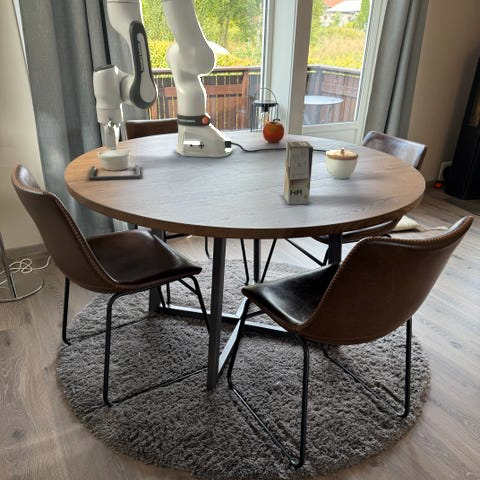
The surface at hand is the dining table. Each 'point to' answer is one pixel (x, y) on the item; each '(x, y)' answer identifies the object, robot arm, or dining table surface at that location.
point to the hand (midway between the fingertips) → (114, 156)
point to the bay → (92, 178)
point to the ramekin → (114, 159)
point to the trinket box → (341, 163)
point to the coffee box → (298, 172)
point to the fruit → (273, 131)
